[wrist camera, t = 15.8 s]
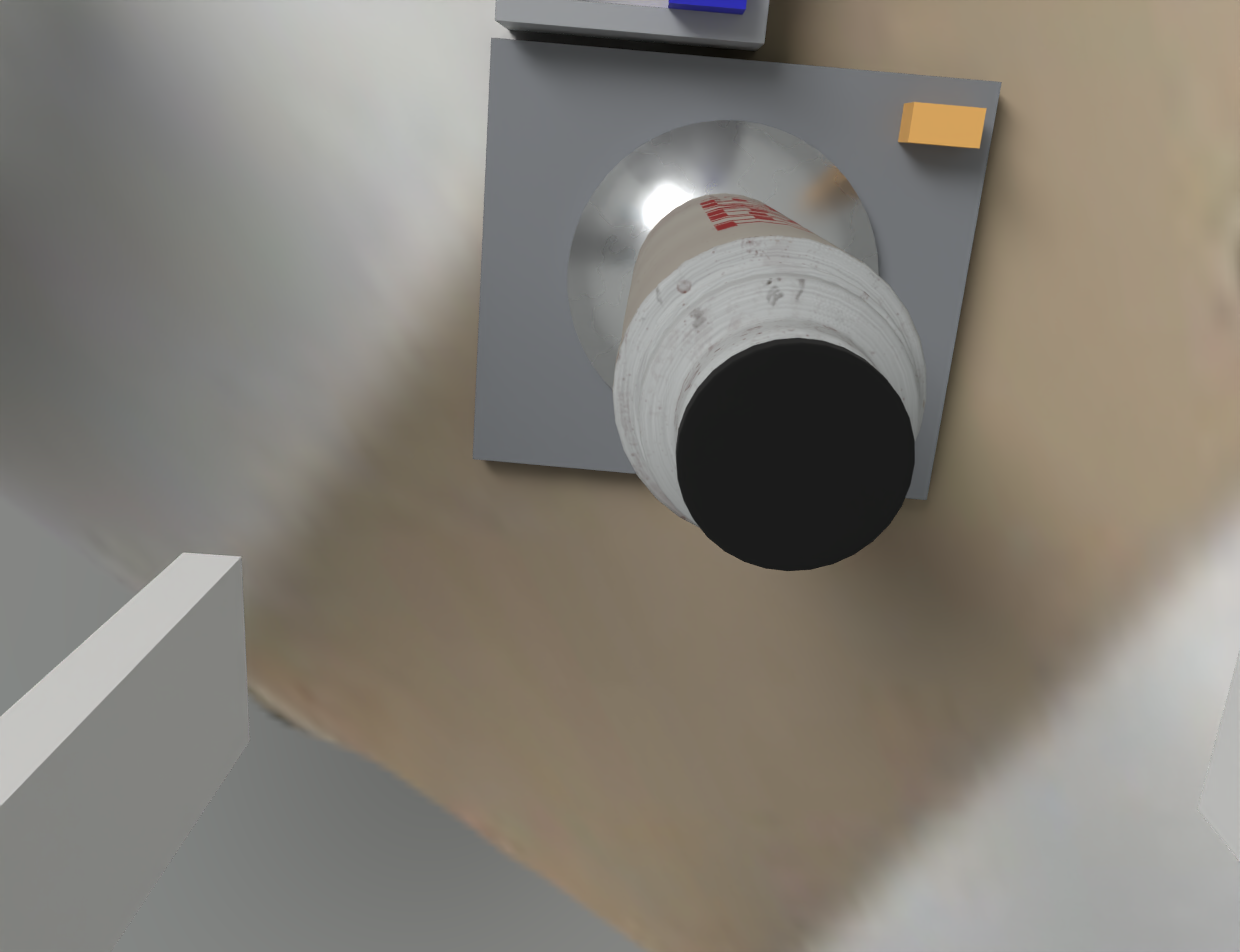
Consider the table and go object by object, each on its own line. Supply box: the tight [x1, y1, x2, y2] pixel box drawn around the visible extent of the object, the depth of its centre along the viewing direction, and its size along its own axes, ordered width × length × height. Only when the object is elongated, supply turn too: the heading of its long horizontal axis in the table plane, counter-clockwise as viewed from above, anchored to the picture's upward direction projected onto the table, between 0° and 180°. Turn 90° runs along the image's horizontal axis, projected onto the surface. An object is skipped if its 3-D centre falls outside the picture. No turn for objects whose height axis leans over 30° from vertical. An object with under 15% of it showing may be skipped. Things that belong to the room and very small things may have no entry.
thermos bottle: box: [612, 193, 926, 571], centre depth 35 cm, size 8×8×28 cm
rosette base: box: [473, 38, 1001, 500], centre depth 49 cm, size 22×19×4 cm
